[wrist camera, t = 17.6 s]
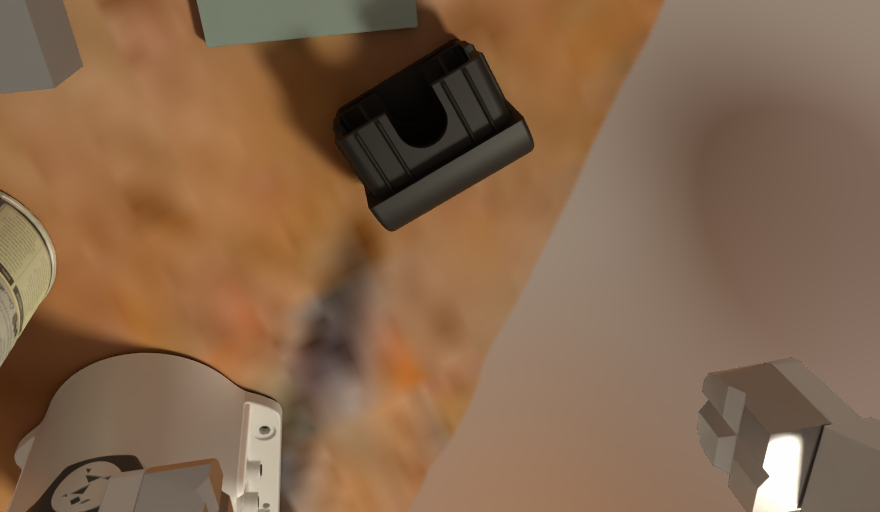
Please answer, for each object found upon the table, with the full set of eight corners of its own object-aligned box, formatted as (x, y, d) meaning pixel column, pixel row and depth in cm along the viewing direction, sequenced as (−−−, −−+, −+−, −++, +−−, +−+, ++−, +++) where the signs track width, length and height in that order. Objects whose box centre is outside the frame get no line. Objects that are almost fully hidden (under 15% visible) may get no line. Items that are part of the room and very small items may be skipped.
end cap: (384, 204, 45) (396, 250, 39) (325, 116, 42) (329, 151, 36) (514, 127, 44) (547, 163, 38) (465, 30, 41) (492, 53, 35)
